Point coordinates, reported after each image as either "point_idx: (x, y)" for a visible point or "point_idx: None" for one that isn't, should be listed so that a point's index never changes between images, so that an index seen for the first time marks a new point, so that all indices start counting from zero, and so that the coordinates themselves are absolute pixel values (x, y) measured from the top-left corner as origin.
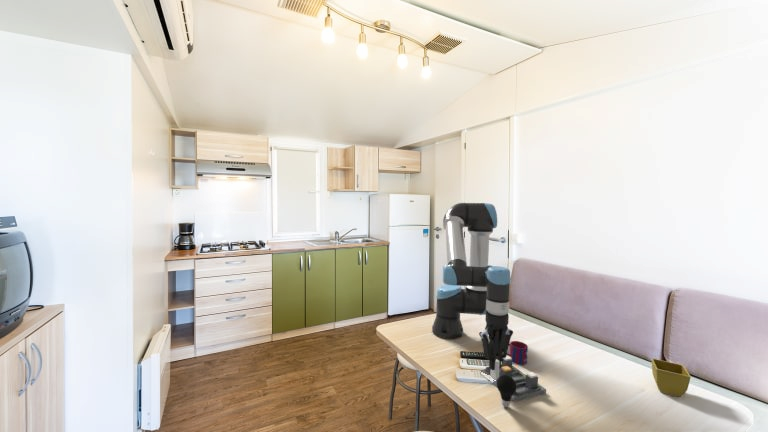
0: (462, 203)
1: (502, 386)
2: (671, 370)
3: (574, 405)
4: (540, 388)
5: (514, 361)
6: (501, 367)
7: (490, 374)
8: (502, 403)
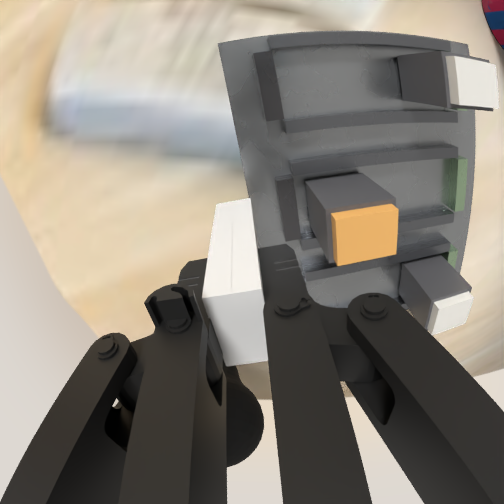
0: None
1: None
2: None
3: (459, 331)
4: None
5: (495, 25)
6: (334, 218)
7: (215, 211)
8: None
